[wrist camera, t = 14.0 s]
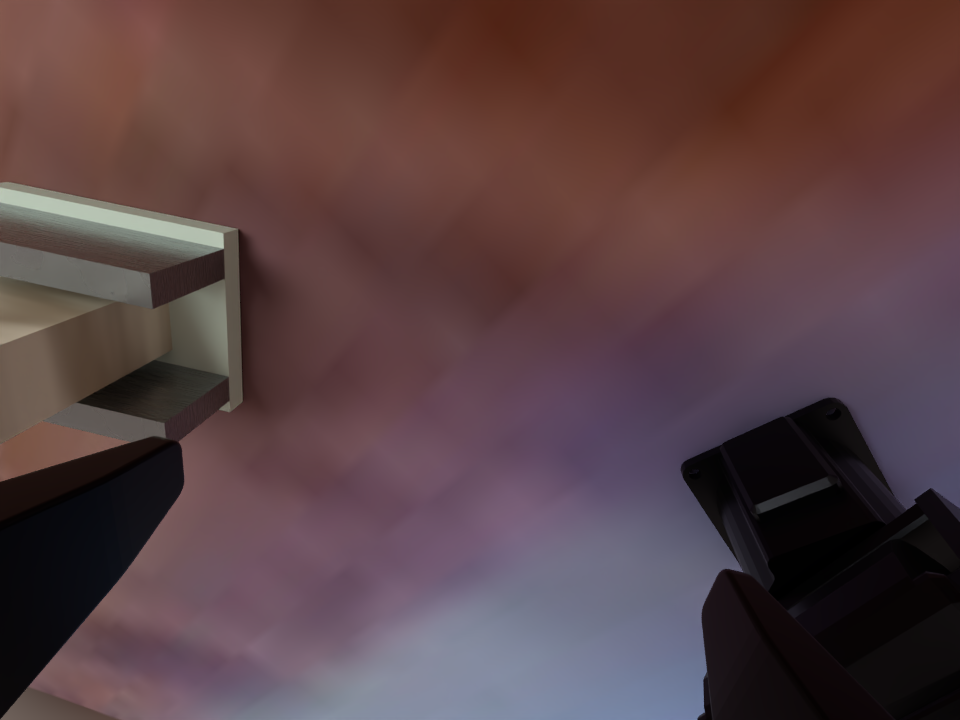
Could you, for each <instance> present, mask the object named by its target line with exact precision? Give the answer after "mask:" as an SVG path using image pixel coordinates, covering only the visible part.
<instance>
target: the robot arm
mask: <svg viewBox="0 0 960 720" xmlns="http://www.w3.org/2000/svg"><path fill="white" fill-rule="evenodd" d="M834 408H836V411H835V412H834V413H833V414H831V415H826V414H827V412H828V411H829V410H830V409H834ZM694 469H697V470H699V472H697V473H695V474H690V473H689V472H690V471H691V470H694ZM681 473H682V476H683V478H684V480H685V482H686V483H687V485H688V486H689V488H690V489H691V491H692V493H693V494H694V496H695V497H696V499H697V500H698V502H699V503H700V505H701V506H702V508H703V509H704V511H705V512H706V514H707V515H708V517H709V518H710V520H711V521H712V523H713V524H714V526H715V527H716V529H717V530H718V532H719V534H720V535H721V537H722V538H723V540H724V541H725V543H726V544H727V546H728V547H729V549H730V550H731V552H732V553H733V555H734V556H735V558H736V559H737V561H738V562H739V564H740V566H741V568H742V571H743V572H739V571H734V570H730V569H724V570H722V571H721V572H720V573H719V574H718V576H717V578H716V580H715V582H714V584H713V586H712V588H711V590H710V592H709V594H708V596H707V598H706V601H705V603H704V605H703V609H702V628H703V638H704V647H705V656H706V665H707V673H706V675H705V677H704V679H703V682H704V709H705V713H703V714H701V715H700V716H699V717H698V720H960V509H959V508H958V507H957V506H955V505H954V504H952V503H951V502H950V501H948V500H947V499H945V498H944V497H943V496H941V495H940V494H939V493H937V492H936V491H934V490H933V489H931V488H930V489H929V490H927V491H926V492H925V493H923V494H922V495H920V496H919V497H917V498H916V499H915V502H916V504H915V505H914V506H912V507H911V508H909V509H908V510H906V509H905V508H904V507H903V506H902V505H901V503H900V502H899V501H898V500H897V499H896V498H895V497H894V495H893V493H892V491H891V490H890V488H889V486H888V484H887V482H886V480H885V478H884V476H883V474H882V472H881V471H880V469H879V467H878V465H877V463H876V461H875V459H874V457H873V455H872V454H871V452H870V450H869V448H868V446H867V444H866V442H865V440H864V438H863V437H862V435H861V433H860V431H859V429H858V427H857V425H856V423H855V421H854V420H853V418H852V416H851V414H850V412H849V410H848V408H847V407H846V406H845V405H844V404H843V403H842V402H841V401H840V400H838V399H836V398H826V399H823V400H821V401H818V402H816V403H814V404H812V405H810V406H807V407H805V408H803V409H801V410H798V411H796V412H794V413H792V414H789V415H787V416H785V417H780V418H777V419H775V420H773V421H771V422H769V423H766V424H764V425H762V426H760V427H757V428H755V429H753V430H751V431H748V432H746V433H744V434H742V435H739V436H737V437H735V438H733V439H730V440H728V441H726V442H724V443H723V444H722V445H720V446H718V447H715V448H713V449H711V450H709V451H707V452H704V453H702V454H700V455H698V456H695V457H693V458H691V459H689V460H687V461H685V462H684V463H683V464H682V466H681ZM183 486H184V470H183V458H182V448H181V445H180V444H179V442H177V441H175V440H172V439H168V438H163V437H159V436H151V437H147V438H144V439H141V440H137V441H134V442H131V443H127V444H124V445H121V446H118V447H114V448H111V449H108V450H104V451H101V452H98V453H94V454H91V455H88V456H84V457H81V458H78V459H74V460H71V461H68V462H64V463H61V464H58V465H55V466H51V467H48V468H45V469H41V470H38V471H35V472H31V473H28V474H25V475H21V476H18V477H15V478H11V479H8V480H5V481H1V482H0V719H1V718H2V717H3V716H4V714H5V713H6V712H7V711H8V710H9V708H10V707H11V706H12V705H13V704H14V703H15V701H16V700H17V699H18V698H19V697H20V696H21V694H22V693H23V692H24V691H25V690H26V689H27V687H28V686H29V685H30V684H31V683H32V682H33V680H34V679H35V678H36V677H37V676H38V675H39V673H40V672H41V671H42V670H43V669H44V667H45V666H46V665H47V664H48V663H49V662H50V660H51V659H52V658H53V657H54V656H55V655H56V653H57V652H58V651H59V650H60V649H61V648H62V646H63V645H64V644H65V643H66V642H67V640H68V639H69V638H70V637H71V636H72V635H73V633H74V632H75V631H76V630H77V629H78V628H79V626H80V625H81V624H82V623H83V622H84V621H85V619H86V618H87V617H88V616H89V615H90V613H91V612H92V611H93V610H94V609H95V608H96V606H97V605H98V604H99V603H100V602H101V601H102V599H103V598H104V597H105V596H106V595H107V594H108V592H109V591H110V590H111V589H112V588H113V586H114V585H115V584H116V583H117V581H118V580H119V579H120V578H121V577H122V575H123V574H124V573H125V571H126V570H127V569H128V567H129V566H130V565H131V563H132V562H133V561H134V559H135V558H136V557H137V555H138V554H139V552H140V551H141V549H142V548H143V547H144V545H145V544H146V542H147V541H148V539H149V538H150V537H151V535H152V534H153V532H154V531H155V529H156V528H157V527H158V525H159V524H160V522H161V521H162V519H163V518H164V517H165V515H166V514H167V512H168V511H169V509H170V508H171V507H172V505H173V504H174V502H175V501H176V500H177V498H178V497H179V495H180V493H181V491H182V489H183Z"/></svg>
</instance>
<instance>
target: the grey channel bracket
mask: <svg viewBox="0 0 960 720" xmlns="http://www.w3.org/2000/svg"><path fill="white" fill-rule="evenodd" d="M0 276H3V277H7V278H12V279H16V280H21V281H25V282H30V283H35V284H39V285H44V286H48V287H53V288H58V289H62V290H67V291H71V292H76V293H81V294H85V295H90V296H94V297H99V298H103V299H108V300H113V301H117V302H122V303H126V304H131V305H136V306H140V307H145V308H149V309H155V308H157V307H159V306H162V305H164V304H166V303H169V313H170V325H171V338H172V350H171V351H169V352H167V353H165V354H164V355H162V356H160V357H158V358H156V359H155V360H153V361H151V362H149V363H147V364H145V365H144V366H142V367H140V368H138V369H136V370H134V371H133V372H131V373H129V374H127V375H125V376H124V377H122V378H120V379H118V380H116V381H114V382H113V383H111V384H109V385H107V386H105V387H104V388H102V389H100V390H98V391H96V392H94V393H93V394H91V395H89V396H87V397H85V398H84V399H82V400H80V401H78V402H76V403H74V404H73V405H71V406H69V407H67V408H65V409H64V410H62V411H60V412H58V413H56V414H54V415H53V416H51V417H49V418H47V419H45V420H43V421H44V422H49V423H53V424H57V425H61V426H65V427H70V428H74V429H78V430H82V431H87V432H91V433H95V434H99V435H103V436H108V437H112V438H116V439H120V440H125V441H129V442H134V441H137V440H141V439H144V438H147V437H151V436H159V437H163V438H168V439H172V440H175V441H177V442H178V441H180V440H181V439H182V438H183V437H185V436H186V435H187V434H188V433H190V432H191V431H192V430H194V429H195V428H196V427H197V426H199V425H200V424H201V423H202V422H204V421H205V420H206V419H207V418H209V417H210V416H211V415H212V414H214V413H215V412H216V411H217V410H222V411H227V412H231V411H232V410H234V409H235V408H236V407H237V406H238V405H240V404H241V403H242V402H243V393H242V355H241V318H240V280H239V243H238V229H236V228H231V227H226V226H221V225H216V224H211V223H206V222H201V221H197V220H192V219H187V218H182V217H177V216H172V215H167V214H162V213H157V212H153V211H148V210H143V209H138V208H133V207H128V206H123V205H118V204H113V203H109V202H104V201H99V200H94V199H89V198H84V197H79V196H74V195H69V194H65V193H60V192H55V191H50V190H45V189H40V188H35V187H30V186H26V185H21V184H16V183H11V182H4V183H0Z"/></svg>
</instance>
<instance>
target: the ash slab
mask: <svg viewBox="0 0 960 720" xmlns="http://www.w3.org/2000/svg"><path fill="white" fill-rule="evenodd" d="M171 350H172V338H171V325H170V313H169V303H166V304H164V305H162V306H159V307H157V308H155V309H149V308H145V307H140V306H136V305H131V304H126V303H122V302H117V301H113V300H108V299H103V298H99V297H94V296H90V295H85V294H81V293H76V292H71V291H67V290H62V289H58V288H53V287H48V286H44V285H39V284H35V283H30V282H25V281H21V280H16V279H12V278H7V277H3V276H0V444H2V443H3V442H5V441H7V440H9V439H11V438H13V437H14V436H16V435H18V434H20V433H22V432H23V431H25V430H27V429H29V428H31V427H33V426H34V425H36V424H38V423H40V422H42V421H43V420H45V419H47V418H49V417H51V416H53V415H54V414H56V413H58V412H60V411H62V410H64V409H65V408H67V407H69V406H71V405H73V404H74V403H76V402H78V401H80V400H82V399H84V398H85V397H87V396H89V395H91V394H93V393H94V392H96V391H98V390H100V389H102V388H104V387H105V386H107V385H109V384H111V383H113V382H114V381H116V380H118V379H120V378H122V377H124V376H125V375H127V374H129V373H131V372H133V371H134V370H136V369H138V368H140V367H142V366H144V365H145V364H147V363H149V362H151V361H153V360H155V359H156V358H158V357H160V356H162V355H164V354H165V353H167V352H169V351H171Z"/></svg>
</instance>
